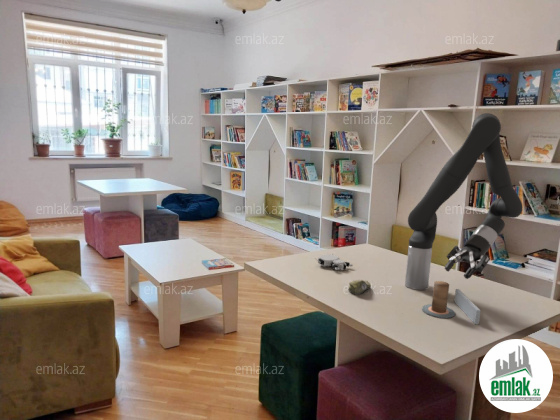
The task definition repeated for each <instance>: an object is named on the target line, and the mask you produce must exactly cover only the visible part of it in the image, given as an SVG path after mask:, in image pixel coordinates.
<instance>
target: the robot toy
mask: <svg viewBox="0 0 560 420" xmlns="http://www.w3.org/2000/svg"><path fill="white" fill-rule="evenodd" d="M314 260H316V261H317V263H318V264H319V265H321V266H322V267H325V268H326V267H332V269H333V270H335V271H344V270H346V269H347V267H348V268H349V267H353V266H354V265H353V264H352V263H350V262H347V261H344V260H341V259H340V257H339V256H338V255H335V254H334V253H332V254H331V253H330V254H328V253H327V254H322V255H320V256H319V257H317V258H316V257H314Z"/></svg>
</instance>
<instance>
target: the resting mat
mask: <svg viewBox="0 0 560 420" xmlns="http://www.w3.org/2000/svg"><path fill="white" fill-rule="evenodd" d="M431 308H432V303H431V304H430V303H428V304H424V305H422V308H421V311H422V312H423V313H424V314H426V315H428V316H431V317H433V318H438V319H451V318H454V317H456V312H455V311H454V309H452V308H450V307H448V306H447V309H446V312H445V313H437V312H434V311H432V309H431Z"/></svg>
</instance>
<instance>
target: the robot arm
mask: <svg viewBox="0 0 560 420" xmlns="http://www.w3.org/2000/svg"><path fill="white" fill-rule="evenodd" d="M500 121H501V120H500V119H499V118H498V117H497V116H496V115H495V114H492V113H489V112H487V113H486V112H485V113H481V114H479V115H478V116H476V118H474V120H473V122H472V125H471V129H470V131H469V133H468V135H467V137H466V139H465V140H464V142H463V143H462V146H461V147H460V148H458V150H457V151H456V152H455V153H454V154H453V155H452V156H451V157H450V158H449V159H448V160H447V162H446V163H445V164H444V165H443V167H441V170H440V171H439V172H438V174H437V176H436V177H435V179H434V181H433V182H432V183H431V185H430V186H429V187H428V189H427V192H426V193H425V194H424V196H423V197H422V198H421V199H420V201H418V203H417V204H416V205H415V206H414V208H413V209H412V210H411V211H410V213H409V214H408V217H407V223H408V227H409V228H410V229H411V230H412V231H413V232H412V234H411V236H410V238H409V240H408V249H407V250H408V251H407V258H406V259H407V260H406V272H405V283H404V285H405V287H408V288H410V289H413V290H419V291H420V290H423V291H424V290H428V289H429V285H430V283H429V282H430V274H431V263H432V254H433V252H432V251H433V244H434V241H435V239H436V233H437V232H436V231H437V227H438V226H437V225H438V216H437V212H438V210H439V208H441V206H442V205H443V204H444V203H446V201H448V199H450V198H451V197H452V196H453V195H454V194H455V193H456V192H457V191H458V190H459V189H460V188H461V186H462V185H463V183H464V182H465V181H466V179H467V178H468V176H469V175H470V173H471V172H472V170H473V168H474V167H475V165H476V163H477V162H478V160H479V158H480V157H481V156H482V155H483V157H484V162H485V168H486V173H487V178H488V182H489V186H490V190H491V192H492V193H493V194H494V195H497V196H498V197H499V198H496V199H494V200H493V201H492V203H490V206H489V208H488V211H487V214H486V217H485V218H484V219H483V221H482V222H481V224H480V225H479V226H478V227H476V229H475V230H474V231H473V233H472V234H471V235H470V236H469V238H468V239H467V240H466V241H465V243H464V246H463V247H462V248H461V247H459V246H458V245H454V247H453V248H452V249H451V250H450V251H449V253H447V254H446V258H447V259H448V261H447V263H446V264H445V266H444V270H445V271H446V272H450V271H451V269H452V268H453V267H454V266H455V264H456V263H462V262H464V263H468V264H470V267H468V269H467V270H466V271H465V273H464V274H463V277H464V279H465V280H469V279H470V278H471V277H472V276H473V275H474V274H475V273H476V272H479V273H482V272H483V271H484V269H485V268H486V266H487V265H488V264H489V262H490V259H489V257H488V255H487V254H486V253H487V252H488V251H489V250H490V249H491V247H492V246H493V244H494V243H495V242H496V240H497V239H498V237H499V235H500V234H501V232H502V231H503V230H504V228H505V226H506V223H505V221H504V219H502V217H503V218H510V219H511V218H513V219H515V218H517V217H519V216H521V214H522V212H523V203H522V199H521V198H520V197H519V195H518V193H517V191H516V189H515V188H514V186H513V183H512V180H511V175H510V172H509V168H508V166H507V162H506V159H505V156H504V153H503V149H502V144H501V138H500V137H501V135H500V133H501V131H502V124H501V122H500Z"/></svg>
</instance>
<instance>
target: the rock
mask: <svg viewBox="0 0 560 420" xmlns="http://www.w3.org/2000/svg"><path fill="white" fill-rule="evenodd" d="M371 286H372V285H371V283H370V281H368V280H366V279H365V280H363V279H356V280H352V281H351V282H349V286H348V291H349V293H350V294H352V295H356V296H359V295H362V294H363V293H365V292H366V290H368V288H369V289H371Z"/></svg>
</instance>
